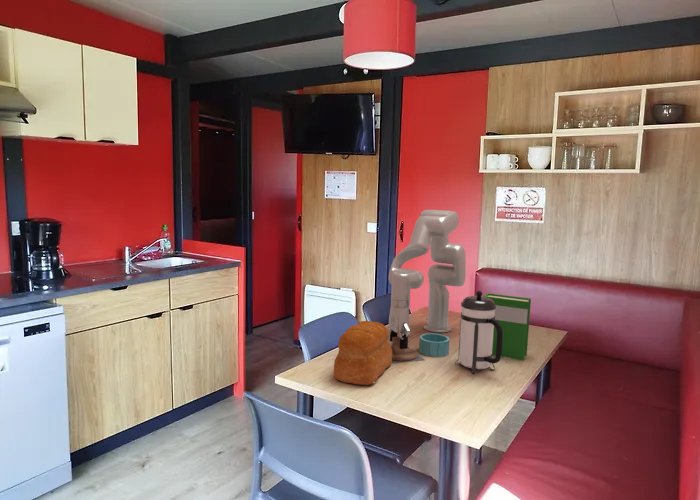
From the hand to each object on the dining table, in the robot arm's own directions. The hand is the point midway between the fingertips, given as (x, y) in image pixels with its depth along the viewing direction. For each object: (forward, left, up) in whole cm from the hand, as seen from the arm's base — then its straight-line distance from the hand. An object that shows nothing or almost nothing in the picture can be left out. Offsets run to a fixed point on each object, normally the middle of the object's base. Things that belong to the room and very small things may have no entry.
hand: (398, 344), depth 193 cm
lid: (0, 0, -4) cm, 4 cm away
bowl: (0, +16, -5) cm, 17 cm away
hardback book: (+8, +44, -5) cm, 45 cm away
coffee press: (+20, +24, -5) cm, 32 cm away
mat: (0, 0, -5) cm, 5 cm away
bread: (+12, -19, -5) cm, 23 cm away
